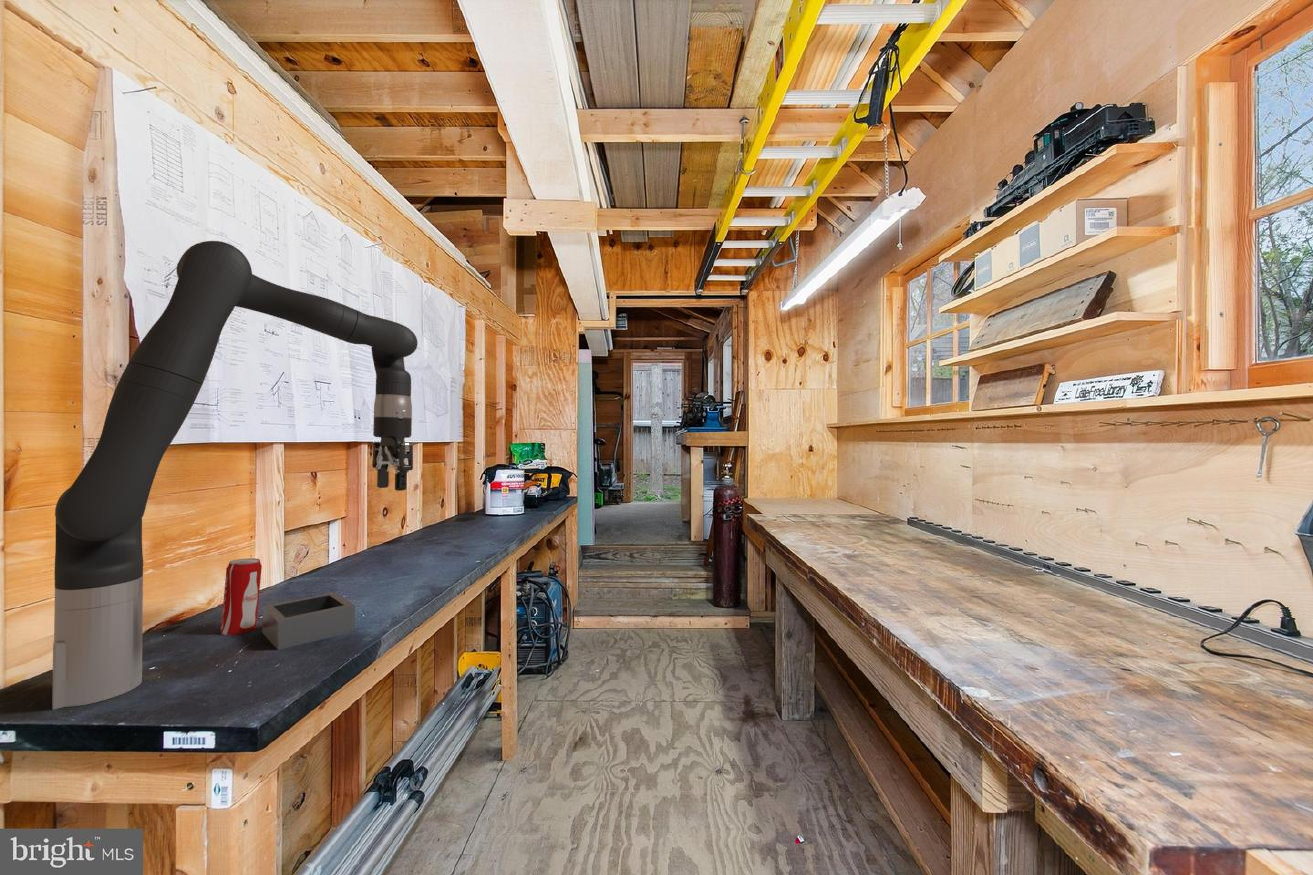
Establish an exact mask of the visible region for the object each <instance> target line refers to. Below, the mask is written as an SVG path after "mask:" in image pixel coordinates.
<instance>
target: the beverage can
mask: <svg viewBox="0 0 1313 875" xmlns="http://www.w3.org/2000/svg"><path fill="white" fill-rule="evenodd" d="M262 567H263V566H262V563H261V559H260V558H252V557H251V558H239V559H233V560H230V561H229V562H228V564H227V566H226V568H225V569H226V570H225V579H224V580H225V582H224V592H223V603H222V612H221V621H220V622H221V623H220V624H221V625H220V634H221V635H225V636H232V635H233V636H234V635H239V634H243V633H247V632H249V631H253V630H254V629H256V628H257V623H258V611H259V601H260V590H261V579H262V578H261V577H262Z"/></svg>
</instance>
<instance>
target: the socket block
mask: <svg viewBox="0 0 1313 875" xmlns="http://www.w3.org/2000/svg"><path fill="white" fill-rule="evenodd" d="M261 613H262V616H261V617H262V618H261V620H262V621H261V622H262V623H261V626H262V627H261V628H262V629H261V633H262V634H263V635H264V637H265V638H266V639H267V640H268V641H269V642H270V643H271V645H273V647H275V649H276V650H277V651H280V650H283V649H284V650H285V649H287V648H291V647H295V646H300V645H304V644H308V643H312V642H317V641H321V640H324V639H328V638H329V639H330V638H333V637H337V636H340V635H345V634H349V633H352V632H351V631H353V632H355V630H356V629H355V627H356V625H355V623H356V622H355V621H356V619H355V617H356V604H354V603H352V602H351V601H349V600H348V599H346V598H344V597H343V596H341V594H338V593H336V592H333V591H332V592H328V593H325V594H318V595H314V596H309V597H303V598H298V599H293V600H288V601H284V602H278V603H272V604H268V605H267V604H266V605H263V606H262V611H261ZM348 632H349V633H348ZM344 633H345V634H344Z"/></svg>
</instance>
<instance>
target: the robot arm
mask: <svg viewBox="0 0 1313 875" xmlns="http://www.w3.org/2000/svg"><path fill="white" fill-rule="evenodd" d="M252 270H253V269H252V266H251V264H250V262H249V259H248V258H247V256H246V255H245V254H244V253H243V252H242V251H241V250H240V249H239V248H237V247H236V246H235V245H232V244H230V243H227V242H224V241H219V240H206V241H201V242H198V243H195V244H193V245H191V246H190V247H188V248H187V249H186V251H184V252H183V254H182V255H181V257H180V259H179V261H178V262H177V264H176V275H177V278H178V279H177V281H176V285H175V287H174V289H173V292H172V296H171V298H170V300H169V302H168V304H167V306H166V308H165V309H164V310H163V312H162V314H161V315H159V316H160V317H158V319H157V320H156V321H155V323H154V324H153V325H152V327H151V328H150V329H149V330H148V332H147V333H146V334H145V336H144V337H143V339H142V340H141V341H140V343H139V345H138V346H137V348H135V350H134V351H133V354H132V355H131V357H130V358H129V360H128V363H127V364H126V367H125V368H124V370H123V373H122V374H121V376H120V378H119V381H118V382H117V385H116V387H115V390H114V391H113V395H112V397H111V399H110V402H109V406H108V409H107V411H106V415H105V419H104V423H103V426H102V431H101V434H100V437H99V440H98V442H97V445H96V446H95V448H94V450H93V452H92V454H91V456H90V457H89V459H88V460H87V461H86V464H85V465H84V467H83V468H82V469H81V471H80V473H79V474H78V476H77V477H76V478H75V480H74V482H73V483H72V484H71V486H69V487H68V488H67V489H66V490H64V492H63V493H62V494H61V495H60V496H59V498H58V499H57V502H56V506H55V509H54V517H55V544H54V548H55V550H54V551H55V553H54V573H53V574H54V612H53V613H54V615H53V616H54V618H53V620H54V624H53V625H54V626H53V627H54V628H53V644H52V697H51V699H52V702H51V703H52V706H51V707H52V711H53V710H58V709H62V708H67V707H69V708H70V707H79V706H86V705H89V704H95V703H98V702H103V701H106V700H110V699H112V698H116V697H118V696H120V695H121V696H122V695H124V694H126V693H128V692H130V691H132V690H135V689H136V688H137V687H139V686H140V685H141V684H142V682H143V625H144V624H143V618H144V617H143V614H144V611H143V610H144V608H143V607H144V602H143V600H144V599H143V598H144V555H143V554H144V553H143V537H142V536H143V517H144V515H145V511H146V508H147V503H148V501H149V500H148V499H149V495H150V492H151V490H152V486H153V483H154V480H155V478H156V474H157V472H158V469H159V466H160V464H161V461H162V459H163V457H164V455H165V453H166V451H167V450H168V448H169V446H170V445H171V443H172V442H173V441H174V439H175V438H176V436H177V434H178V432H179V431H180V430H181V427H182V425H183V424H184V423H185V421H186V418H187V417H188V415H189V412H190V411H191V409H192V407H193V406H194V403H195V401H196V399H197V397H198V395H199V392H200V391H201V389H202V386H203V385H204V382H205V379H206V377H207V374H208V372H209V369H210V367H211V365H212V364H211V363H212V361H213V359H214V357H215V353H216V350H217V348H218V343H219V340H220V337H221V335H222V331H223V329H224V327H225V324H226V323H227V321H228V319H229V317H230V316H231V314H232V313H233V311H234V309H235V307H237V308H240V309H246V310H250V311H253V312H254V311H255V312H257V313H262V314H265V315H268V316H272V317H275V318H277V319H281V320H284V321H286V322H287V321H288V322H290V323H293V324H296V325H299V326H302V327H304V328H308V329H311V330H312V331H314V332H315V331H316V332H318V333H321V334H322V335H323V334H324V335H327V336H329V337H332V338H334V339H337V340H341V341H344V342H346V343H349V344H353V345H366V346H369V347H371V356H372V362H373V367H374V368H373V369H374V371H375V398H374V405H373V428H372V429H373V430H372V431H373V437H375V438H380V441H374V442H373V443H372V463H371V464H372V466H371V467H372V469H375V471H376V472H377V476H376V477H377V478H376V479H377V480H376V482H377V484H376V487H377V488H378V489H384V488H386V489H387V488H388V487H389V485H390V484H389V483H390V482H389V480H390V478H389V477H390V468H391V466H392V467H393V469H394V490H395V491H396V492H397V491H399V492H400V491H406V490H407V484H408V483H407V482H408V480H407V479H408V478H407V477H408V474H407V473H409V472H410V471H412V470H413V469H414V446H413V445H414V444H413V442H405V439H406V438H407V439H409V438H411V437H412V433H413V432H412V430H413V428H412V426H413V425H412V422H413V416H412V415H413V403H412V377H411V374H410V372H409V371H407V370H406V367H405V359H404V358H406V357H409V356H411V355H412V354H414V352H416V350H417V348H418V339H417V336H416V334H415V333H414V332H413V331H412V330H411V329H410V327H407V326H405V325H403V324H402V323H399V322H396V321H393V320H389V319H385V318H382V317H378V316H375V315H374V316H373V315H369V314H367V313H364V312H362V311H360V310H358V309H355V308H353V307H350V306H348V305H345V304H342V303H341V302H337V301H335V300H332V299H330V298H326V297H323V296H320V295H315V294H312V293H307V292H303V291H299V290H296V289H291V288H289V287H285V286H282V285H280V284H276V283H273V282H272V281H269V280H265V279H264V278H261V277H259V276H257V275H255V274H253V271H252Z"/></svg>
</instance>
